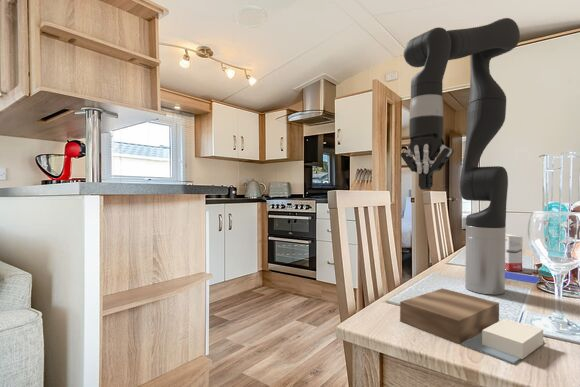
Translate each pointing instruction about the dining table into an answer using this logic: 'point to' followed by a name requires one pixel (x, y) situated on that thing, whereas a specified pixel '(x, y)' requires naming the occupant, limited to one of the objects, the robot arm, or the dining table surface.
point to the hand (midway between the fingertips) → (425, 189)
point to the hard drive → (521, 278)
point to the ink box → (513, 252)
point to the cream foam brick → (512, 338)
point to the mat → (489, 349)
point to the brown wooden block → (449, 314)
